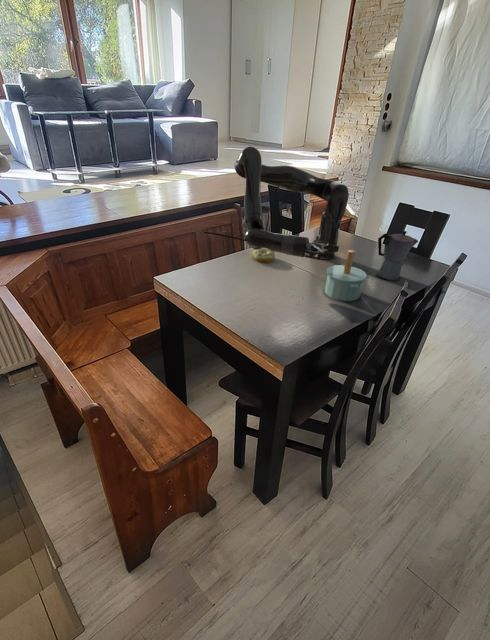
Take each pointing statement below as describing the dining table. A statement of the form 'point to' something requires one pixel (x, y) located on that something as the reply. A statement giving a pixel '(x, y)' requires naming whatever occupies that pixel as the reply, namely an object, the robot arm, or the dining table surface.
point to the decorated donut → (263, 255)
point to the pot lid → (347, 270)
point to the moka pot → (395, 254)
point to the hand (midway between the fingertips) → (336, 252)
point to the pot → (343, 289)
